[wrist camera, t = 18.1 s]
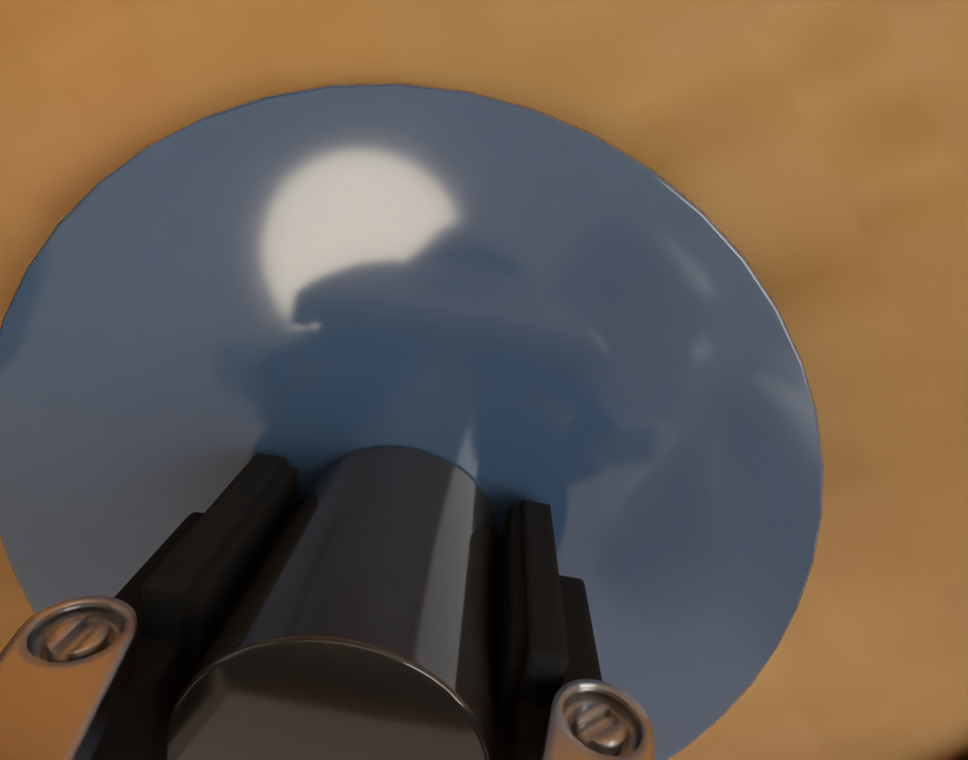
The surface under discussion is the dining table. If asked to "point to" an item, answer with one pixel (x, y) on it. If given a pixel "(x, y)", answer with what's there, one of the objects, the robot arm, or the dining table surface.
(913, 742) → the dining table surface
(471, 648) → the lid
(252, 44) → the dining table surface
